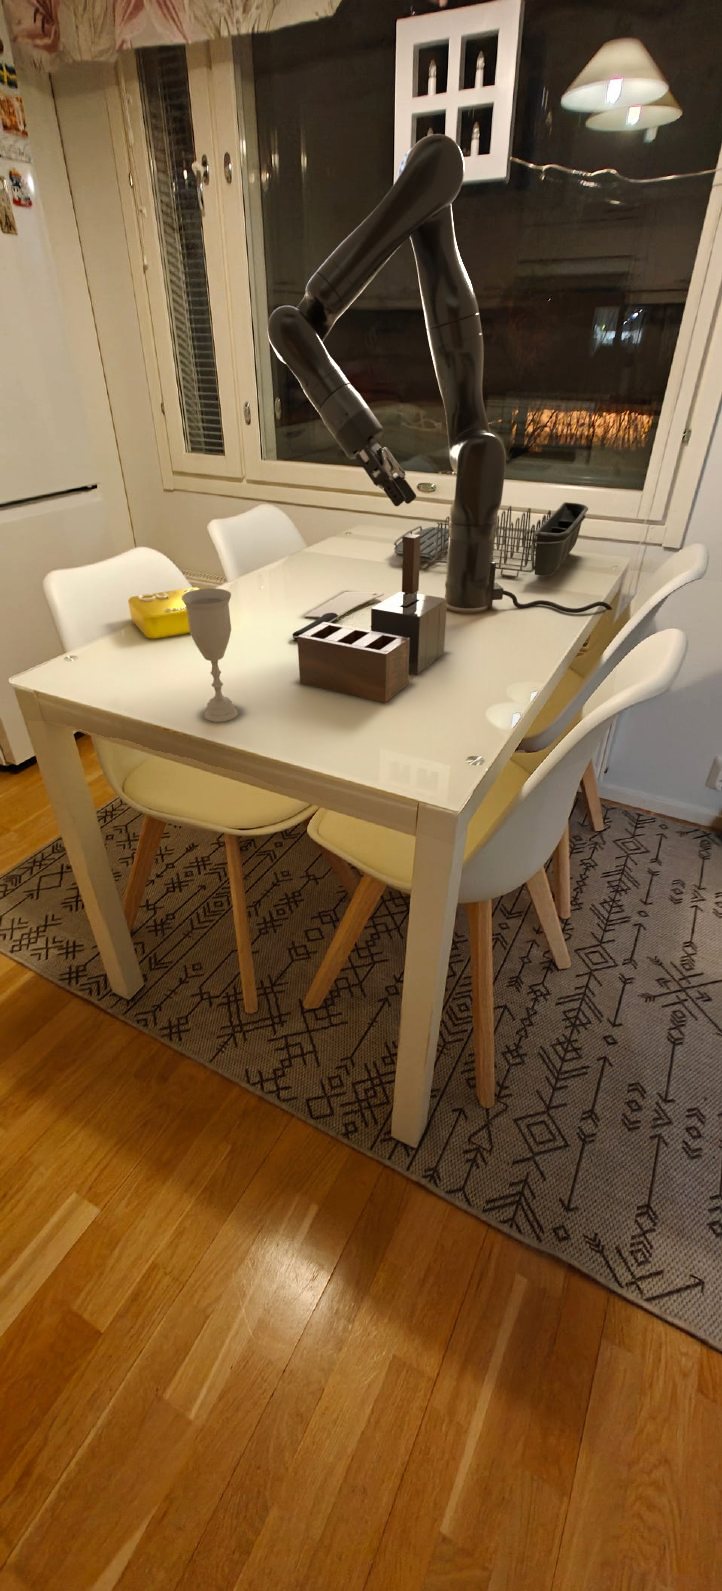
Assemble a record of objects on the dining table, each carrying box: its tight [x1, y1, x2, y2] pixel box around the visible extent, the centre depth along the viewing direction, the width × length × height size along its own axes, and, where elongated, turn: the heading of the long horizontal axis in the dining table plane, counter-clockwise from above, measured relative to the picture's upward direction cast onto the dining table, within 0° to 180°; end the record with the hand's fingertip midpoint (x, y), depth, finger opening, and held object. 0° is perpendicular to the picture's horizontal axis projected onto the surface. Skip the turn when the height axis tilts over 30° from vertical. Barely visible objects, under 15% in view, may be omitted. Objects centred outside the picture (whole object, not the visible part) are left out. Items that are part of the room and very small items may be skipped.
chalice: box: [181, 587, 239, 723], centre depth 104 cm, size 7×7×18 cm
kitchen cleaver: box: [292, 591, 385, 642], centre depth 147 cm, size 31×2×10 cm
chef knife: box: [401, 533, 421, 608], centre depth 121 cm, size 4×2×21 cm, turn 150°
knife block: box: [370, 590, 448, 675], centre depth 124 cm, size 11×9×10 cm
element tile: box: [128, 587, 199, 640], centre depth 143 cm, size 15×15×5 cm
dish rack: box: [393, 501, 589, 579], centre depth 181 cm, size 34×44×12 cm
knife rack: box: [297, 622, 410, 703], centre depth 116 cm, size 8×16×8 cm, turn 61°
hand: (407, 501), depth 126 cm, fingers open, 8 cm apart
